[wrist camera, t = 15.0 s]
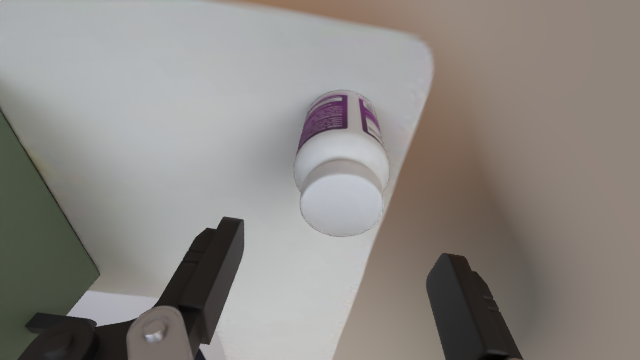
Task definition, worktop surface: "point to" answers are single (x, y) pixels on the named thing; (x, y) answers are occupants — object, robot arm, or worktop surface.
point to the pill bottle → (341, 165)
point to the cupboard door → (34, 253)
